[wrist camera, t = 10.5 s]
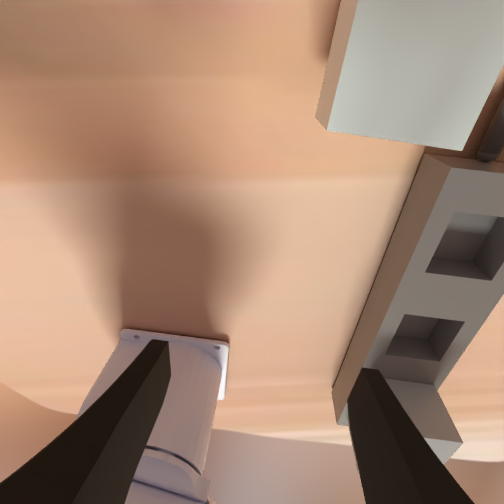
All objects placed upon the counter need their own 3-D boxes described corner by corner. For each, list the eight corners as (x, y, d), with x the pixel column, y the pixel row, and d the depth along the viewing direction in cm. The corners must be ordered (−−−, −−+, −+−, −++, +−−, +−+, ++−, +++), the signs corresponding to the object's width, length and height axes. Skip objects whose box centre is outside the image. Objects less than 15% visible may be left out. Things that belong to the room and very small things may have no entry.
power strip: (331, 392, 28) (346, 479, 22) (513, -77, 12) (757, -236, 6) (395, 400, 28) (427, 490, 22) (666, -61, 12) (1075, -207, 6)
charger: (311, 112, 16) (326, 130, 11) (339, -20, 13) (378, -81, 8) (402, 126, 16) (461, 151, 11) (450, -3, 13) (560, -53, 8)
